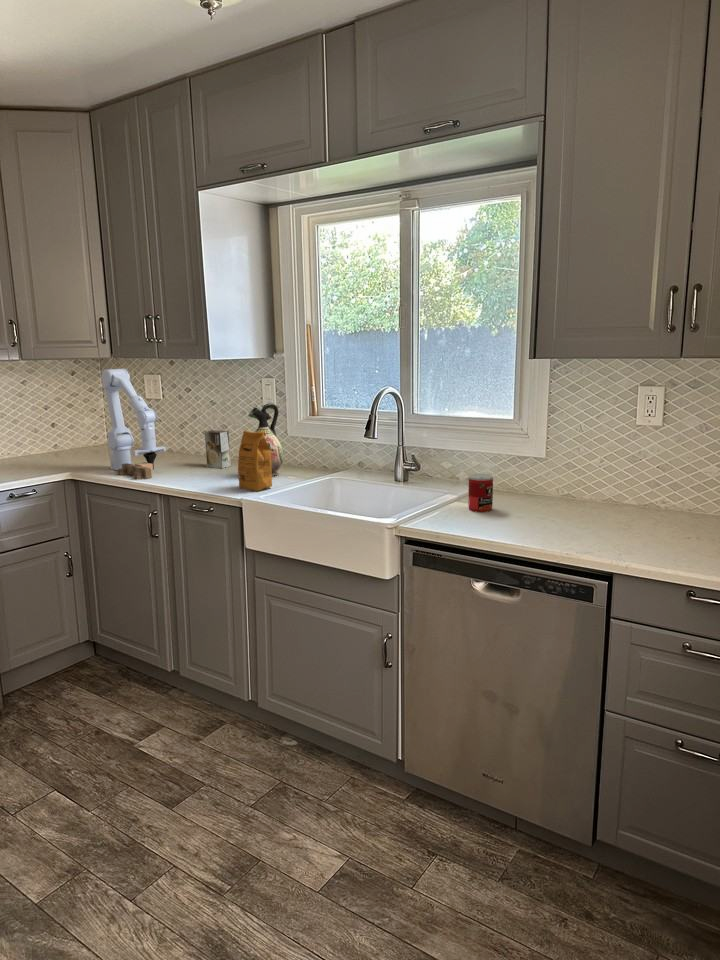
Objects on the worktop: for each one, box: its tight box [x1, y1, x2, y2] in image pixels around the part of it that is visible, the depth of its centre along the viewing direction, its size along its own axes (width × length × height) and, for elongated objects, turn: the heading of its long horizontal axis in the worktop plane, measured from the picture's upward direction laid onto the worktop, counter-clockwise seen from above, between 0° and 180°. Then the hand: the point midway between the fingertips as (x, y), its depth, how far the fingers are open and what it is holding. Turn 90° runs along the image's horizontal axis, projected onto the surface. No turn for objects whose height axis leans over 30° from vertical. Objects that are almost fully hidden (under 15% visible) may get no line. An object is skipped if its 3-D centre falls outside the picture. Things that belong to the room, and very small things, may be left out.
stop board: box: [117, 463, 153, 480], centre depth 289 cm, size 20×5×4 cm, turn 47°
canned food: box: [467, 473, 494, 513], centre depth 222 cm, size 8×8×11 cm
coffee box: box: [204, 429, 232, 469], centre depth 306 cm, size 9×6×16 cm
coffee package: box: [237, 429, 273, 492], centre depth 259 cm, size 10×12×22 cm
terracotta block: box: [134, 461, 154, 475], centre depth 293 cm, size 6×5×4 cm
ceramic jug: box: [248, 402, 284, 477], centre depth 283 cm, size 17×15×30 cm
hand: (151, 469), depth 295 cm, fingers closed, pressing on terracotta block
